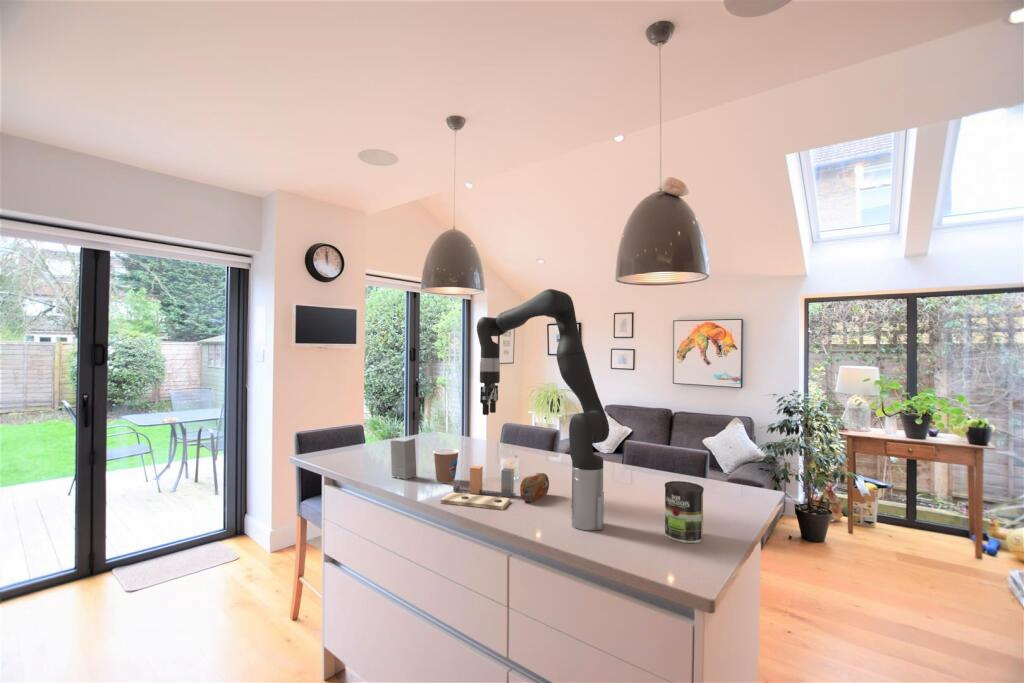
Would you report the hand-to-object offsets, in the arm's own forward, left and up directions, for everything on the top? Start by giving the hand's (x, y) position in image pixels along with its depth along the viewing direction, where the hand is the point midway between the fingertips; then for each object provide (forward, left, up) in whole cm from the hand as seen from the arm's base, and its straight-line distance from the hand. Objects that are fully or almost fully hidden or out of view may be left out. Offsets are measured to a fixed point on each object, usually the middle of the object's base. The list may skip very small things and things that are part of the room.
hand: (489, 413), depth 173 cm
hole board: (-1, +14, -29) cm, 32 cm away
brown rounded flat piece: (-19, +3, -29) cm, 34 cm away
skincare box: (+39, -8, -29) cm, 49 cm away
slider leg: (+4, +3, -29) cm, 29 cm away
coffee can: (-67, +24, -29) cm, 77 cm away
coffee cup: (+21, -8, -29) cm, 36 cm away
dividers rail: (-1, +3, -29) cm, 29 cm away
